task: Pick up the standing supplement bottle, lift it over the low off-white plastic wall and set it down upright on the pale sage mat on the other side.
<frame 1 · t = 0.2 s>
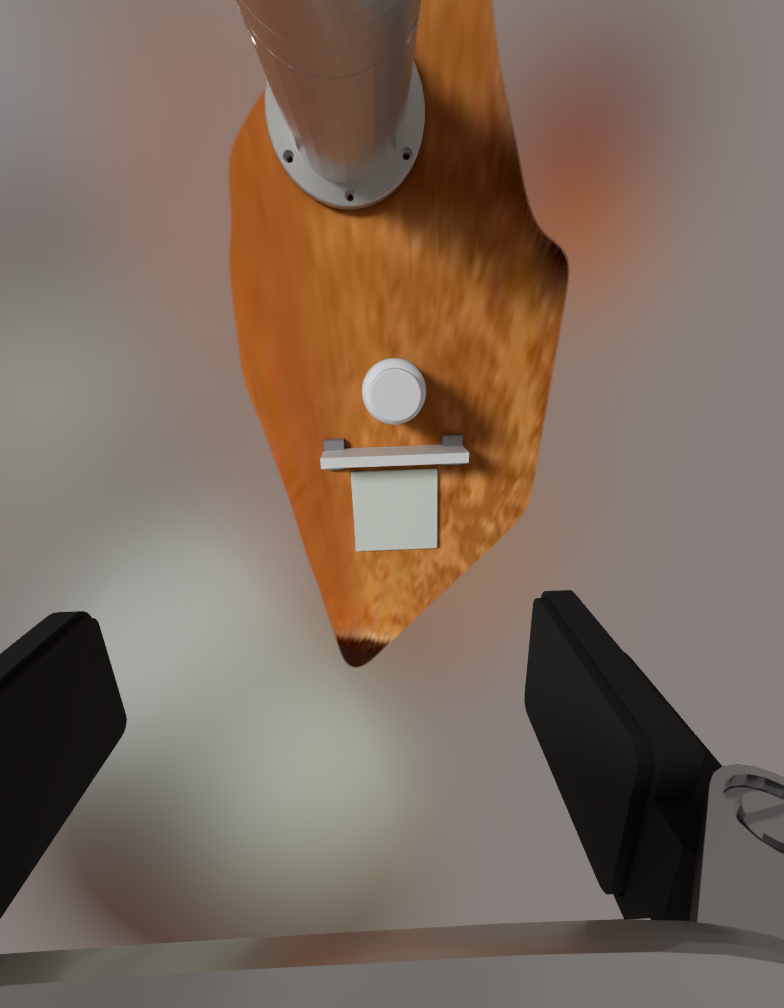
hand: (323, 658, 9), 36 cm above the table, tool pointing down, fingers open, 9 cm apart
supplement bottle: (391, 385, 42), on the table
low wall: (393, 451, 44), on the table
mat: (395, 510, 46), on the table
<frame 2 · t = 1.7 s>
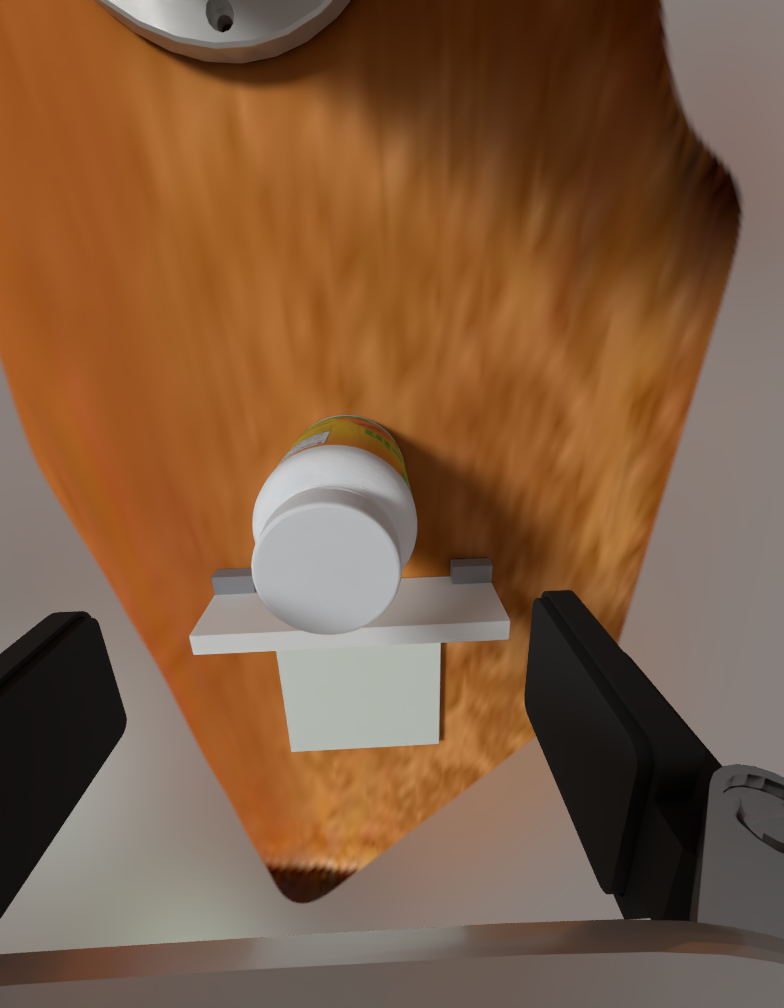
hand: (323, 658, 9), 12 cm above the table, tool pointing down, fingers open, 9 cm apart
supplement bottle: (348, 469, 20), on the table
low wall: (355, 588, 23), on the table
mat: (361, 685, 25), on the table
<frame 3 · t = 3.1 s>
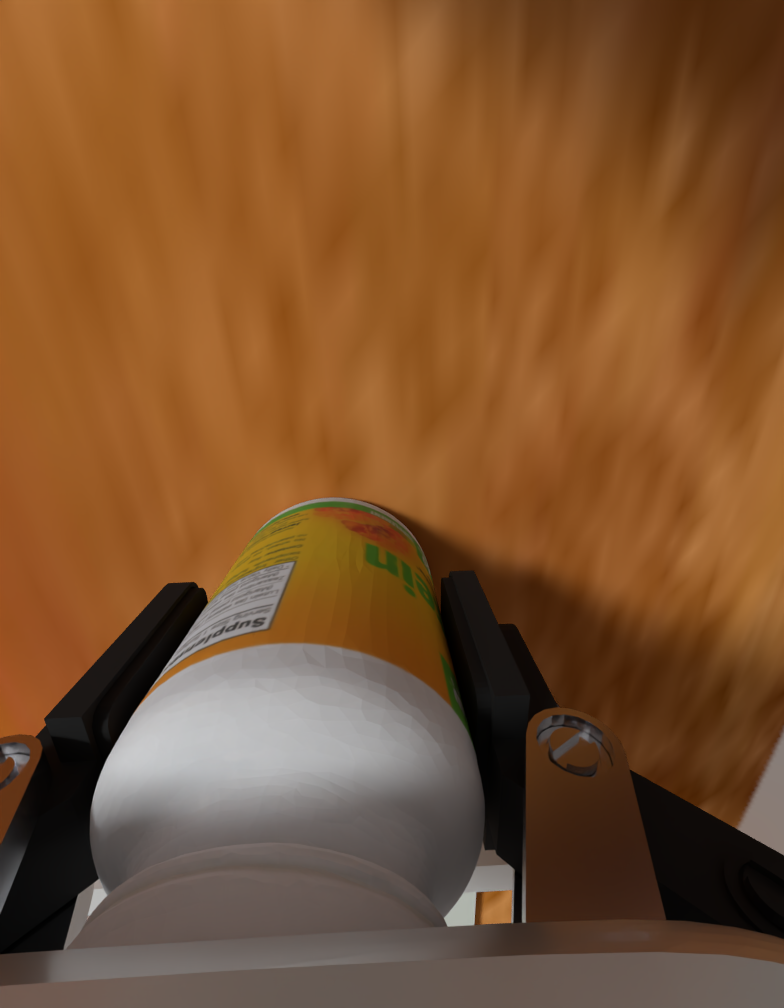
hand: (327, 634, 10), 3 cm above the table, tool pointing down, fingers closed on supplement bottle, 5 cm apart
supplement bottle: (337, 577, 13), on the table, touching gripper
low wall: (350, 749, 15), on the table
mat: (360, 875, 17), on the table
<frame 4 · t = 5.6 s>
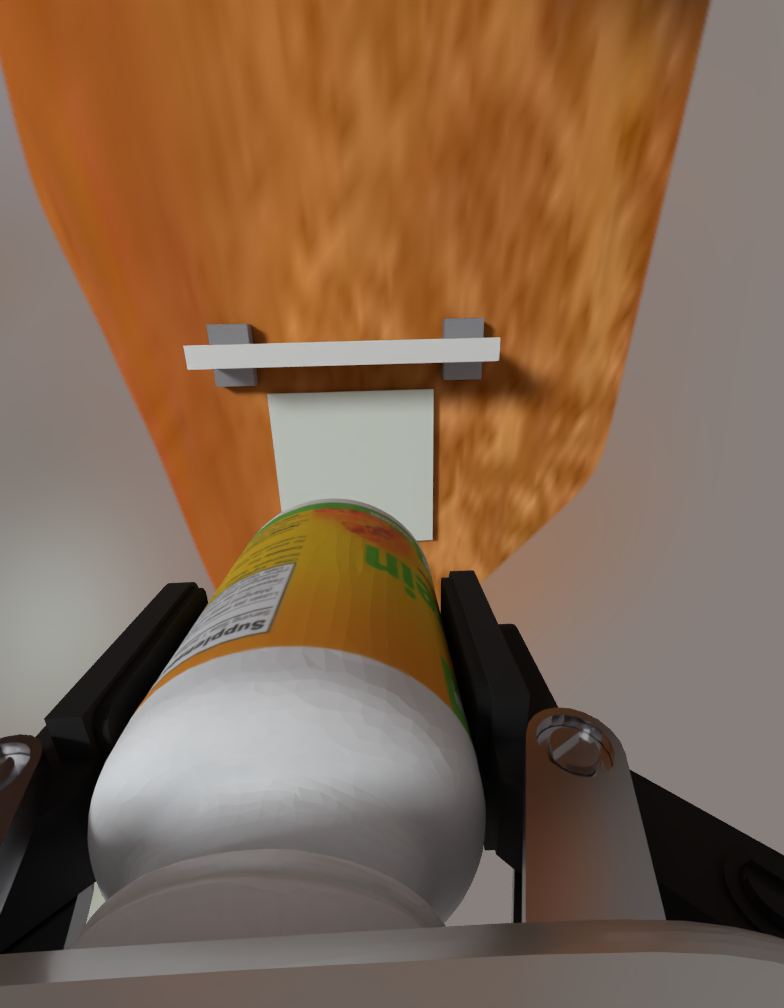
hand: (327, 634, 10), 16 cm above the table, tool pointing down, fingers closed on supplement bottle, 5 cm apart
supplement bottle: (337, 578, 13), point 13 cm above the table, touching gripper
low wall: (349, 352, 23), on the table
mat: (355, 470, 25), on the table
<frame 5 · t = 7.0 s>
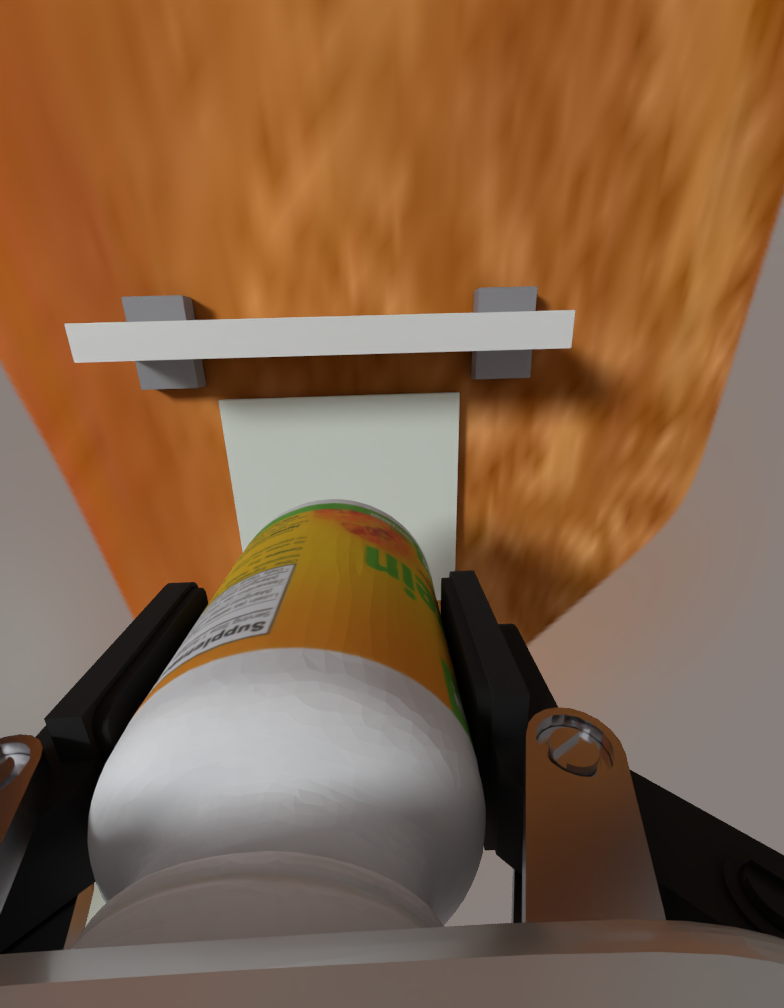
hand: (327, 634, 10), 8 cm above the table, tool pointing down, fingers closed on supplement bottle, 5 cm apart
supplement bottle: (337, 579, 13), point 6 cm above the table, touching gripper
low wall: (337, 339, 16), on the table
mat: (348, 506, 18), on the table
when the fingers open (4 cm above the table, at t = 8.2 s): supplement bottle drops 1 cm, resting on mat.
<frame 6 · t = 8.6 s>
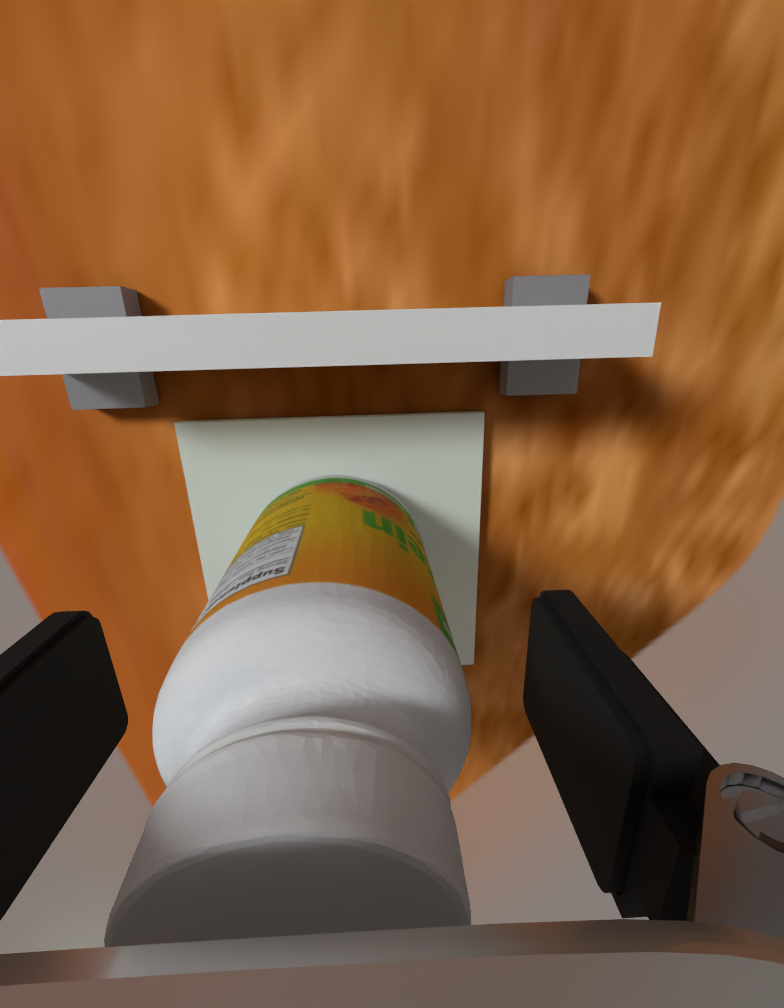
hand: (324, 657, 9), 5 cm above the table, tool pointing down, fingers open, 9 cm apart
supplement bottle: (338, 548, 14), resting on mat
low wall: (326, 344, 12), on the table
mat: (342, 552, 14), on the table
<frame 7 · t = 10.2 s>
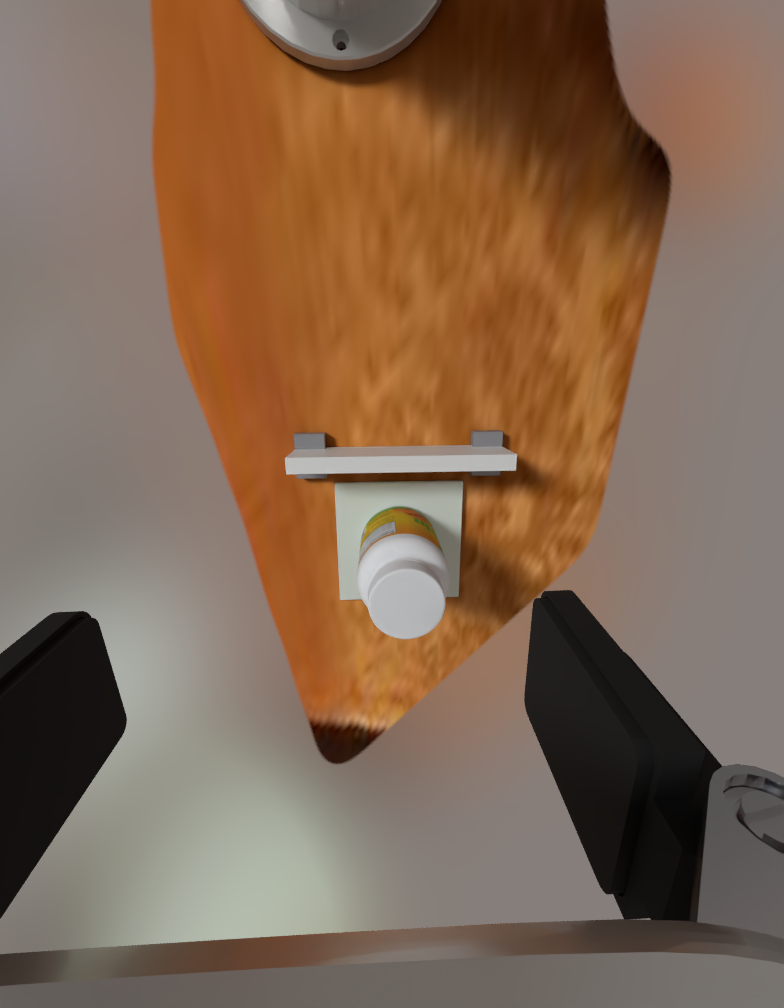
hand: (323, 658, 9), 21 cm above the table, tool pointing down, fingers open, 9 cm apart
supplement bottle: (398, 538, 31), resting on mat
low wall: (398, 453, 30), on the table
mat: (399, 540, 32), on the table
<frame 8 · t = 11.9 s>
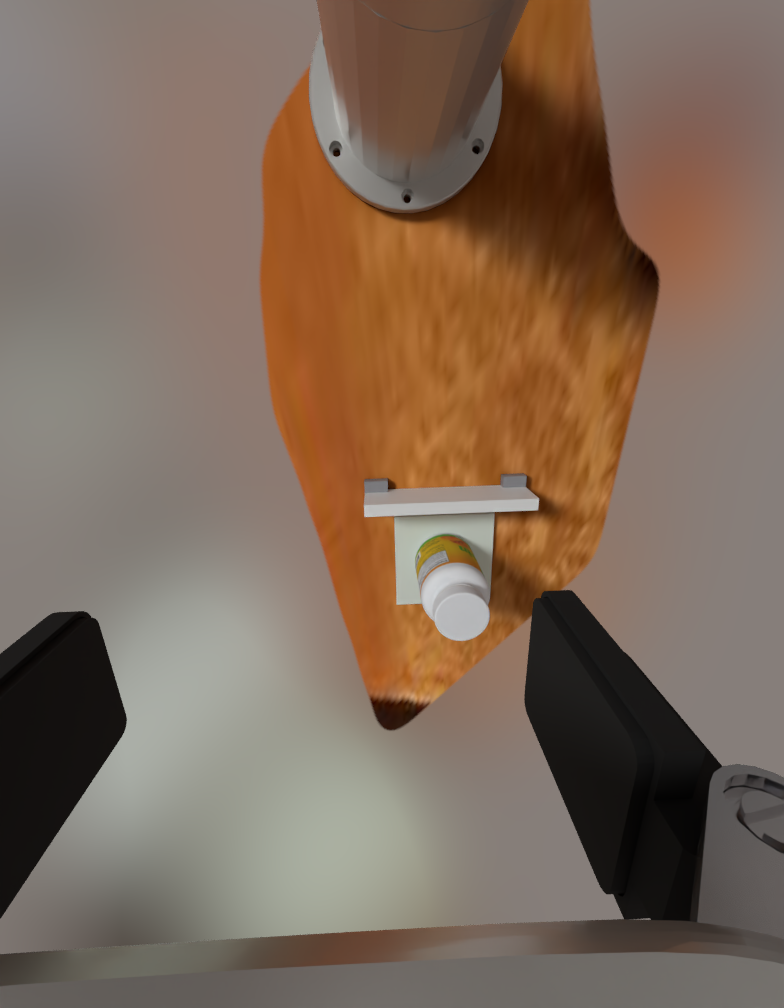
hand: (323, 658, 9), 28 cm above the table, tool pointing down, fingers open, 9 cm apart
supplement bottle: (442, 557, 40), resting on mat
low wall: (444, 492, 38), on the table
mat: (443, 558, 40), on the table
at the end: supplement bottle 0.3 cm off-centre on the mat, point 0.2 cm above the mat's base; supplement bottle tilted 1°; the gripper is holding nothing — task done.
